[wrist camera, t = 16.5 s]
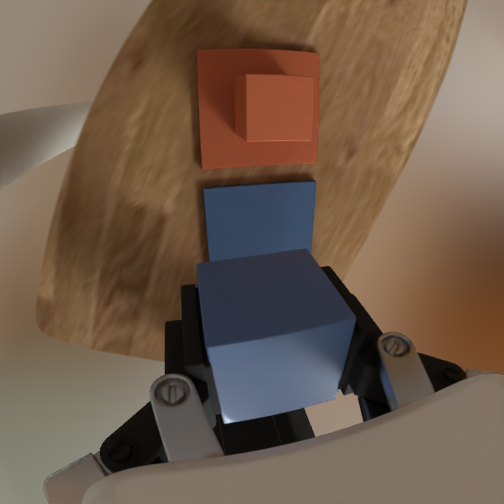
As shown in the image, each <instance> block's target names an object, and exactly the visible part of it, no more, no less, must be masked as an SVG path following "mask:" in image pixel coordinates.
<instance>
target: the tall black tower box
mask: <svg viewBox="0 0 504 504" xmlns="http://www.w3.org/2000/svg"><path fill="white" fill-rule="evenodd" d="M215 416H216V426H215V427H214V428H213V431H214V433H215V435H216V437H217V440H218V442H219V444H220V446H221V448H222V451H223V453H224V455H225V456H228V455H235V454H241V453H247V452H252V451H258V450H263V449H268V448H273V447H277V446H282V445H286V444H290V443H295V442H299V441H303V440H307V439H310V438H314V437H315V435H314V432H313V430H312V427H311V425H310V422H309V420H308V417H307V414H306V412H305V409H304V408H301V409H297V410H292V411H288V412H284V413H280V414H275V415H270V416H265V417H260V418H255V419H250V420H245V421H239V422H233V423H226V424H224V423H223V419H222V416H221V414H216V415H215Z"/></svg>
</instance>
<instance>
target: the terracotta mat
mask: <svg viewBox="0 0 504 504" xmlns="http://www.w3.org/2000/svg"><path fill="white" fill-rule="evenodd" d="M244 74H279V75H296V76H309V77H313V117H312V141H257V142H246V141H245V140H243V139H242V138H241V137H239V136H238V135H236V134H235V91H234V79H235V78H236V77H239V76H242V75H244ZM197 78H198V107H199V129H200V148H201V165H202V170H205V169H216V168H229V167H243V166H260V165H280V164H313V163H317V152H318V124H319V53H313V52H303V51H291V50H276V49H242V48H236V49H202V50H197Z"/></svg>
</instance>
